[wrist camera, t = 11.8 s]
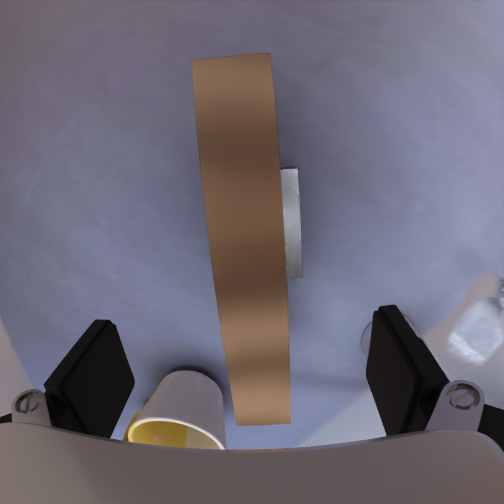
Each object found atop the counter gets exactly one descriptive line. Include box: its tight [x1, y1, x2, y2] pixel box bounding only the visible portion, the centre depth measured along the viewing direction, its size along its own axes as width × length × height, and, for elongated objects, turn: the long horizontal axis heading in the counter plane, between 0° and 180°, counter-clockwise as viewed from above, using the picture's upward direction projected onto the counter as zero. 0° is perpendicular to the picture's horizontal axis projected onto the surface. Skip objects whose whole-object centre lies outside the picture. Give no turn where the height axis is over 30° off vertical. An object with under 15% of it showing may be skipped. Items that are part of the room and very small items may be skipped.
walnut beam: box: [191, 53, 291, 426], centre depth 20 cm, size 24×4×5 cm, turn 5°
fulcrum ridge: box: [280, 168, 303, 278], centre depth 26 cm, size 10×8×8 cm
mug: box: [122, 370, 226, 450], centre depth 32 cm, size 14×10×10 cm
